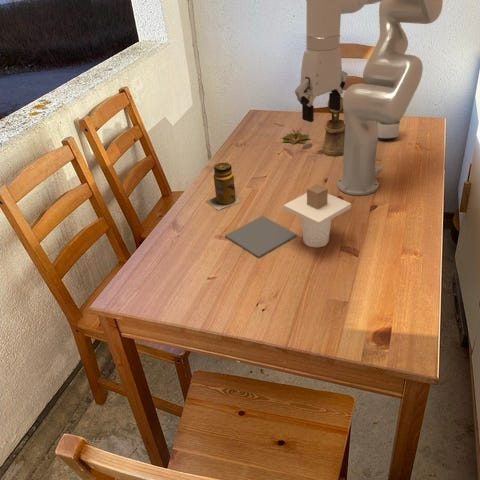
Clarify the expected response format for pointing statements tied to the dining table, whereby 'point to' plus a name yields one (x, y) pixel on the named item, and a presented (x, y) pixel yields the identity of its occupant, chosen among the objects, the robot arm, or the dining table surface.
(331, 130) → the brass finial ornament
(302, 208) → the lid
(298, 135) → the green leafy plant
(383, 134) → the spread jar
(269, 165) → the dining table surface
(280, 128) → the dining table surface
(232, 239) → the grey flat square slab
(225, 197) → the condiment
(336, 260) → the dining table surface
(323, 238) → the white cup
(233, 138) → the dining table surface
